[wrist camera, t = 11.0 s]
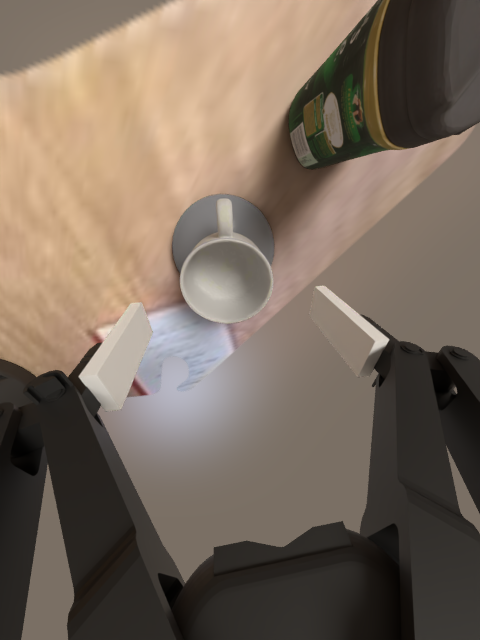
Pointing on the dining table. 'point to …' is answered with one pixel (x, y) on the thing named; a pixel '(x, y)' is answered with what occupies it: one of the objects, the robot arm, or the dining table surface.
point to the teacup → (226, 274)
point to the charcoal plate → (204, 223)
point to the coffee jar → (392, 83)
